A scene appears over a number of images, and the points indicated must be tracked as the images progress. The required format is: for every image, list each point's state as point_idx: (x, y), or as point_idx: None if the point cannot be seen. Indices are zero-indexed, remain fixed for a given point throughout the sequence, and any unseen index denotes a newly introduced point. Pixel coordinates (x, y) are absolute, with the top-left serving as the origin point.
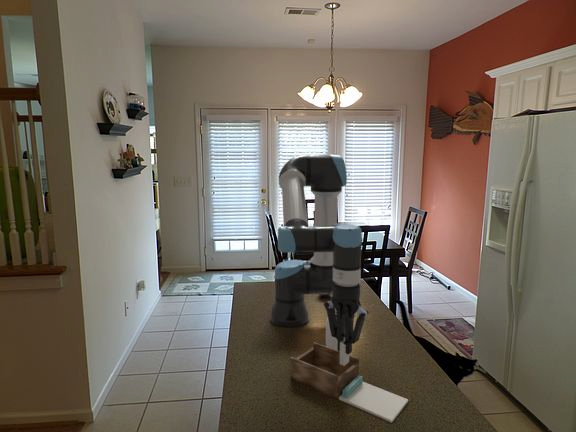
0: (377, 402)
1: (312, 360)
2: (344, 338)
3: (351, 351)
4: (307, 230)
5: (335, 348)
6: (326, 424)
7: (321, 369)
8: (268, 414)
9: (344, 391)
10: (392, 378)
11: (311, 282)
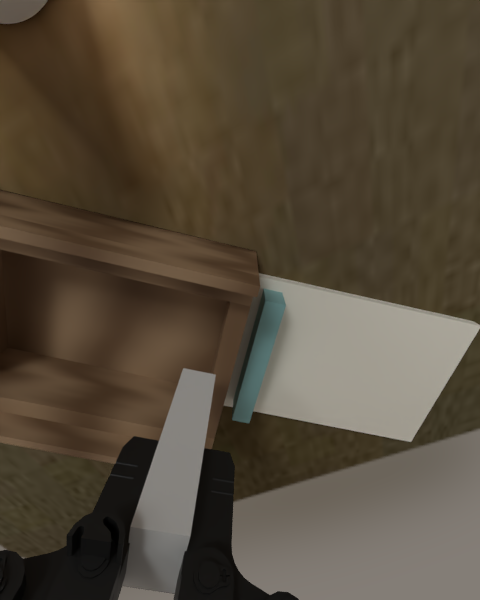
0: (359, 383)
1: None
2: None
3: (232, 470)
4: None
5: (6, 2)
6: None
7: (112, 460)
8: (78, 510)
9: (240, 419)
10: (416, 169)
11: None
